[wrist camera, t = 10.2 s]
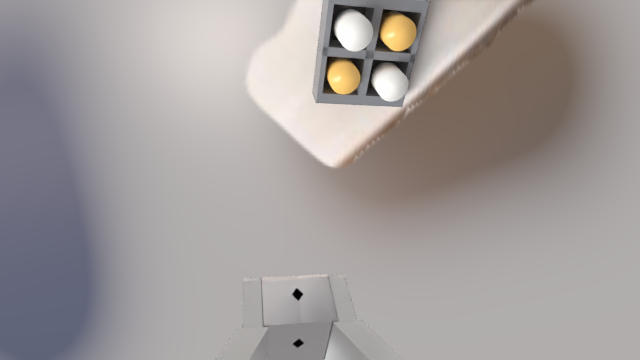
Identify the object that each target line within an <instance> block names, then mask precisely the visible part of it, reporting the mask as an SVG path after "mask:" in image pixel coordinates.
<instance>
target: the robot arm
mask: <svg viewBox="0 0 640 360" xmlns="http://www.w3.org/2000/svg"><path fill="white" fill-rule="evenodd" d="M242 307H243V309H242V328H239V329H236V331H235V332H234V334H233V335H232V337H231V338H230V340H229V341H228V343H227V344H226V346H225V347H224V349H223V350H222V351H221V353H220V354H219V356H218V357H217V359H216V360H403V359H402V358H401V357H400V356H399V355H398V354H397V353H396V352H395V351H394V350H393V349H392V348H391V347H390V346H388V344H387V343H385V342H384V341H383V340H382V339H381V338H380V337H379V336H378V335H377V334H376V333H375V332H374V331H373V330H372V329H371V328H370V327H369V326H368V325H367V324H366V323H365V322H363V320H357V317H356V314H355V310H354V306H353V303H352V299H351V296H350V292H349V289H348V285H347V282H346V278H345V276H344V274H327V275H326V274H319V275H303V276H302V275H301V276H294V277H254V278H253V277H250V278H243V306H242Z"/></svg>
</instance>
